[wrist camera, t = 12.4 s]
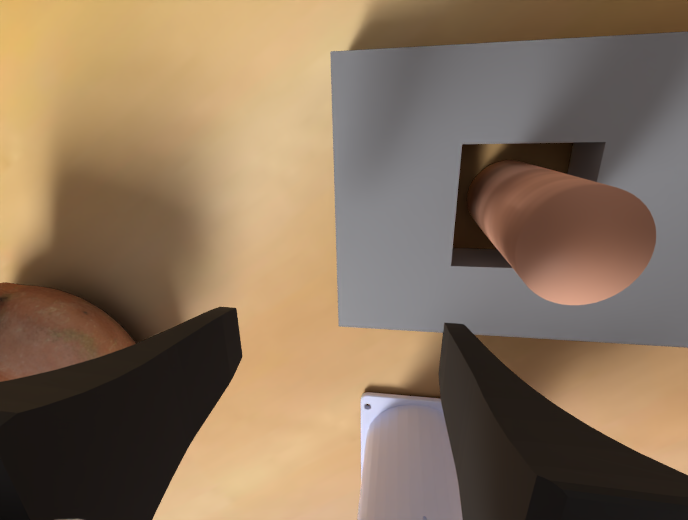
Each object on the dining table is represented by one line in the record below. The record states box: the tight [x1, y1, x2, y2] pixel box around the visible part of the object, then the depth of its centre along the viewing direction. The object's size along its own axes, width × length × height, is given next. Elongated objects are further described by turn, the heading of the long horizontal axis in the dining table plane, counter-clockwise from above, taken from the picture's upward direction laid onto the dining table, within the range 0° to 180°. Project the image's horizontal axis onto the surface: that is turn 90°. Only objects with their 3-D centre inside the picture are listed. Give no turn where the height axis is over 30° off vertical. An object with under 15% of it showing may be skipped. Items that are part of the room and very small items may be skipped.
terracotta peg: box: [467, 160, 656, 305], centre depth 15 cm, size 4×4×9 cm
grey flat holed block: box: [331, 32, 688, 348], centre depth 18 cm, size 14×18×3 cm
